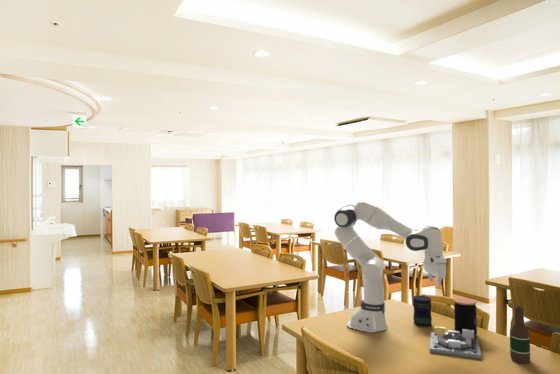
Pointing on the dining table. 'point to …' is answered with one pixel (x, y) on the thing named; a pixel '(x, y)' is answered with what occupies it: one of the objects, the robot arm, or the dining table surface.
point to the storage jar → (422, 311)
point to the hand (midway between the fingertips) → (434, 283)
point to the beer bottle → (519, 338)
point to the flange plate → (465, 352)
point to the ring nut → (465, 336)
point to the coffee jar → (465, 315)
